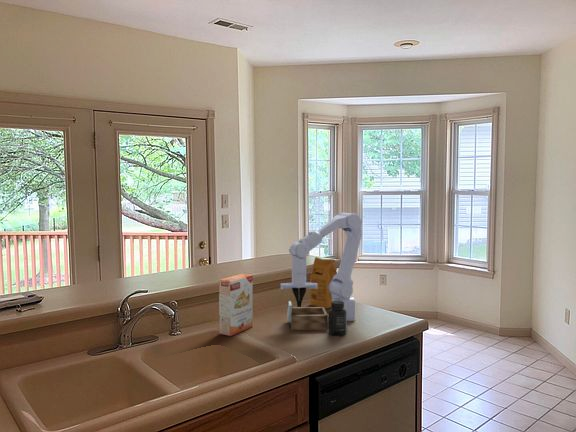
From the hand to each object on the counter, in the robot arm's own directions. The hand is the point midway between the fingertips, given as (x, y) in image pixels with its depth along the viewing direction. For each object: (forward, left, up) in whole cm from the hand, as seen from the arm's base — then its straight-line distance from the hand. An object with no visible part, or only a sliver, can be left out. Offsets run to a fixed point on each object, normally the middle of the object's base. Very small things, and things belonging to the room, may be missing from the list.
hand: (299, 306), depth 190 cm
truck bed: (-4, 0, -7) cm, 8 cm away
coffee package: (-13, -29, -8) cm, 33 cm away
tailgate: (+4, 0, -5) cm, 6 cm away
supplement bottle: (-14, +11, -8) cm, 19 cm away
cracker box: (+24, +6, -8) cm, 26 cm away
